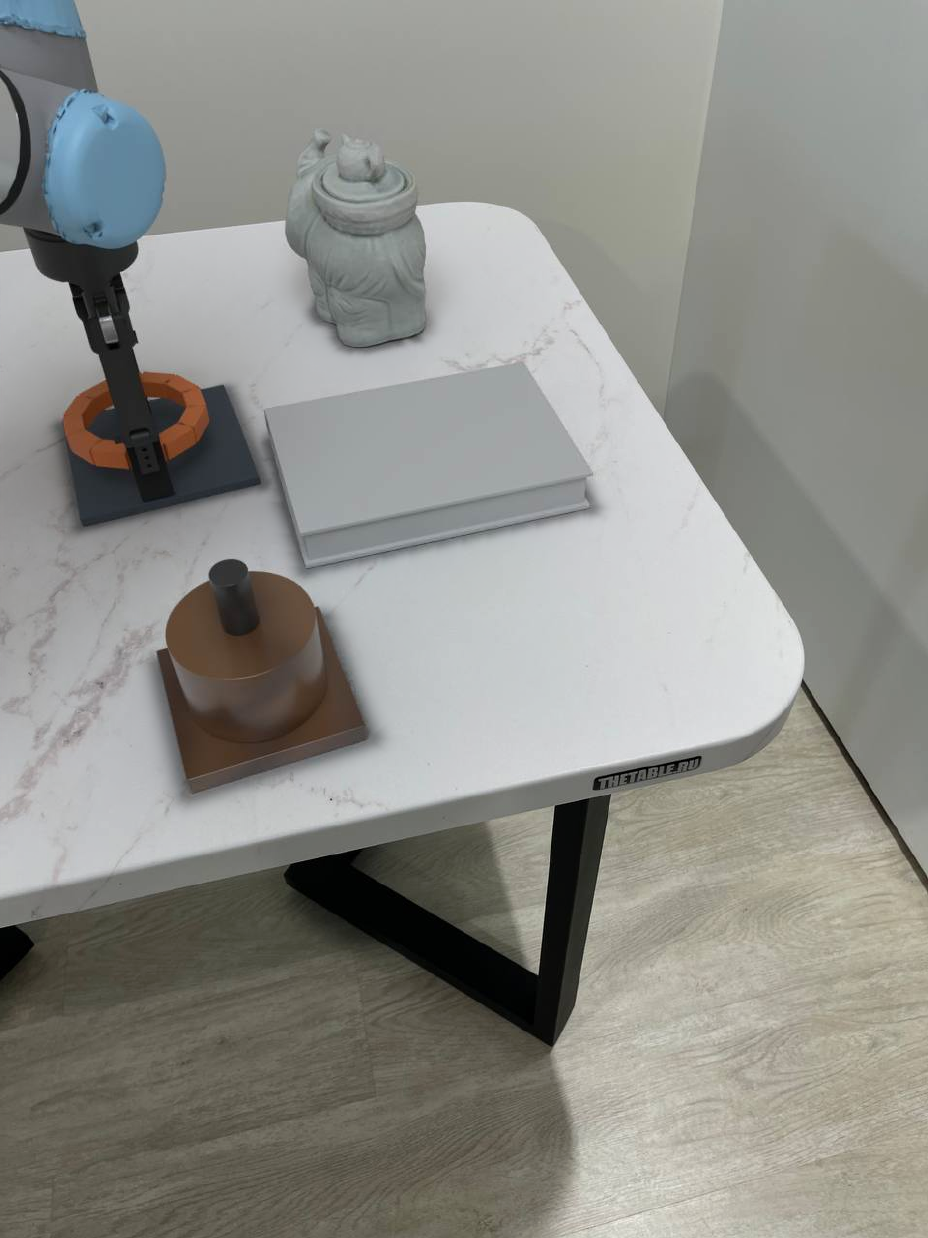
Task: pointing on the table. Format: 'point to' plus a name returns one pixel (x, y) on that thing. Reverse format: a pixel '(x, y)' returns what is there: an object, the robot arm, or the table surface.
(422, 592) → the table surface
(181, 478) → the mat
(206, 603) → the ring stand
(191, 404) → the ring
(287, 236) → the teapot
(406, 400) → the book
